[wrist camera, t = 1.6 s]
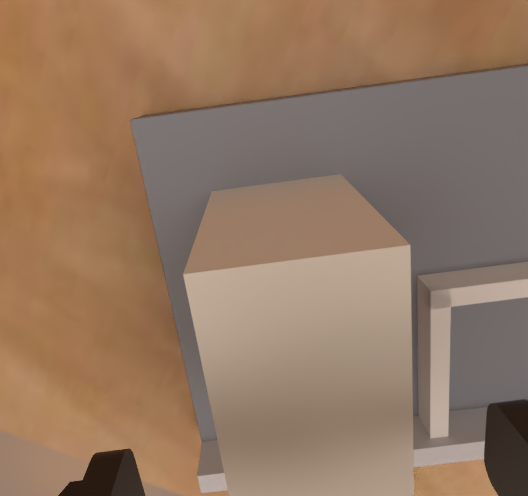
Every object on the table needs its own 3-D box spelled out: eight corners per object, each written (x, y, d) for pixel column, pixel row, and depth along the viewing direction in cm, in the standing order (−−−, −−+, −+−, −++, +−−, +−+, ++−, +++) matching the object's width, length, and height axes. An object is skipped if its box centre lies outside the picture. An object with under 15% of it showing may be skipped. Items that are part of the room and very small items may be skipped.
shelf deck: (714, 38, 18) (837, 27, 14) (646, 377, 24) (721, 433, 20) (142, 115, 18) (114, 124, 15) (209, 431, 24) (201, 496, 20)
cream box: (211, 191, 17) (183, 274, 10) (344, 173, 17) (417, 243, 10) (244, 383, 21) (242, 557, 13) (357, 369, 20) (419, 536, 13)
